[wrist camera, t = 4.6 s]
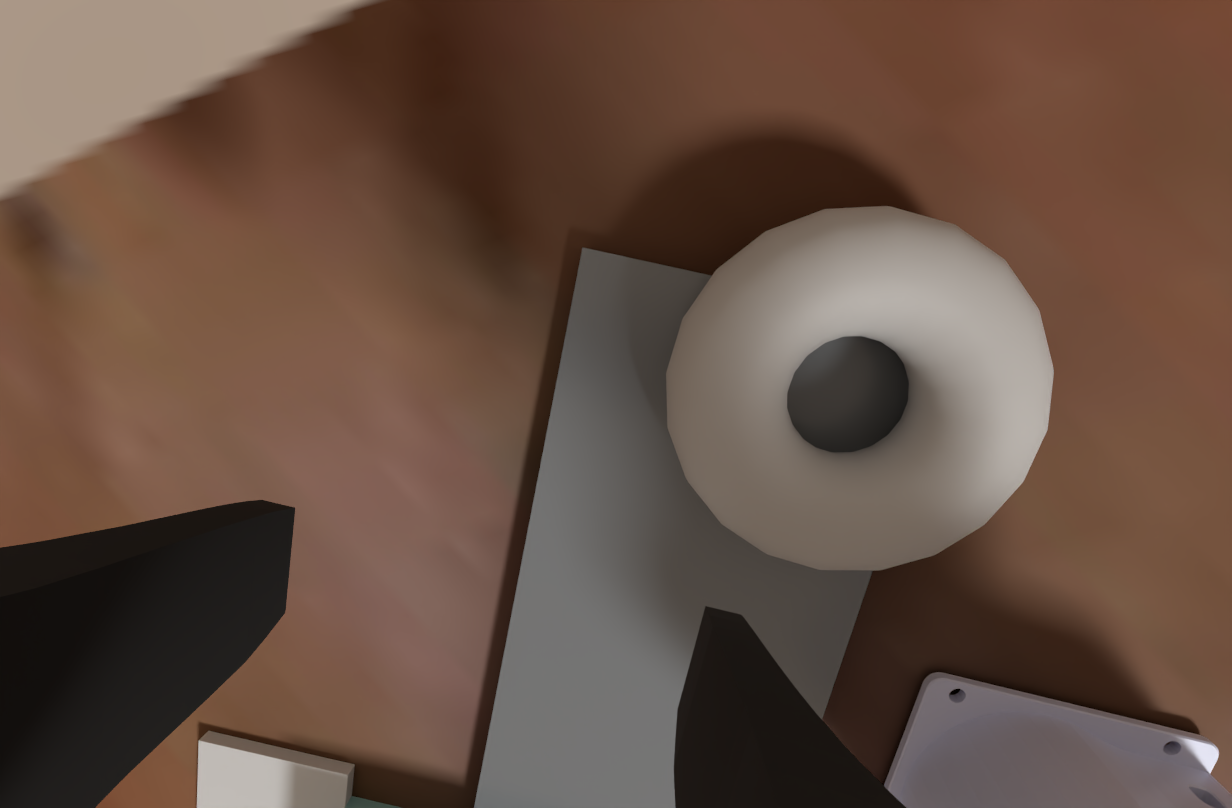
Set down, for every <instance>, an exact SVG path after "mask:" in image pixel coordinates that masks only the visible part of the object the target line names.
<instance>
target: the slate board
mask: <svg viewBox="0 0 1232 808" xmlns="http://www.w3.org/2000/svg"><path fill="white" fill-rule="evenodd" d="M711 277H712V275H707V274H703V273H698V272H694V271H689V270H685V269H680V268H675V267H671V266H666V265H662V264H657V263H653V262H648V261H643V260H639V259H634V258H630V257H625V256H621V255H616V254H612V253H607V252H602V251H598V250H593V249H589V248H583V247H582V253H581V258H580V263H579V268H578V273H577V278H576V284H575V289H574V294H573V299H572V304H571V309H570V315H569V320H568V325H567V330H566V335H565V340H564V346H563V351H562V356H561V361H560V366H559V371H558V377H557V382H556V387H555V392H554V397H553V402H552V408H551V413H550V418H549V423H548V428H547V433H546V438H545V444H544V449H543V454H542V459H541V464H540V469H539V475H538V480H537V485H536V490H535V495H534V500H533V506H532V511H531V516H530V521H529V526H528V531H527V537H526V542H525V547H524V552H523V557H522V562H521V568H520V573H519V578H518V583H517V588H516V593H515V599H514V604H513V609H512V614H511V619H510V624H509V630H508V635H507V640H506V645H505V650H504V655H503V661H502V666H501V671H500V676H499V681H498V686H497V691H496V697H495V702H494V707H493V712H492V717H491V722H490V728H489V733H488V738H487V743H486V748H485V753H484V759H483V764H482V769H481V774H480V779H479V784H478V790H477V795H476V800H475V805H474V808H675V789H674V753H675V737H676V723H677V710H678V706H679V702H680V698H681V695H682V691H683V687H684V683H685V680H686V676H687V672H688V669H689V665H690V661H691V658H692V654H693V650H694V647H695V643H696V639H697V635H698V632H699V628H700V624H701V621H702V617H703V613H704V610H705V606H708V607H712V608H716V609H720V610H724V611H728V612H733V613H737V614H741V615H742V616H743V617H744V618H745V620H746V621H747V622H748V624H749V625H750V626H751V628H752V629H753V630H754V632H755V633H756V635H757V636H758V637H759V639H760V640H761V642H762V643H763V644H764V646H765V647H766V649H767V650H768V651H769V653H770V654H771V655H772V657H773V658H774V660H775V661H776V662H777V664H778V665H779V666H780V668H781V669H782V670H783V672H784V673H785V674H786V676H787V677H788V678H789V680H790V681H791V682H792V684H793V685H794V686H795V688H796V689H797V690H798V691H799V693H800V694H801V695H802V696H803V698H804V699H805V700H806V701H807V703H808V704H809V705H810V706H811V708H812V709H813V710H814V711H815V712H816V714H817V715H818V716H819V717H820V718H821V719H822V718H823V715H824V712H825V710H826V707H827V704H828V701H829V698H830V695H831V692H832V689H833V686H834V683H835V680H836V677H837V674H838V671H839V668H840V665H841V662H842V660H843V657H844V654H845V651H846V648H847V645H848V642H849V639H850V636H851V633H852V630H853V627H854V624H855V621H856V618H857V615H858V612H859V609H860V607H861V604H862V601H863V598H864V595H865V592H866V589H867V586H868V583H869V580H870V577H871V574H872V571H873V570H818V569H814V568H811V567H808V566H804V565H801V564H798V563H794V562H791V561H788V560H784V559H781V558H778V557H774V556H771V555H767V554H765V553H764V552H762V551H761V550H759V549H758V548H756V547H755V546H753V545H752V544H750V543H749V542H747V541H746V540H744V539H743V538H741V537H740V536H738V535H737V534H735V533H734V532H732V531H731V530H729V529H728V528H726V527H725V526H723V525H722V524H721V523H720V522H719V520H718V519H717V518H716V517H715V515H714V514H713V513H712V512H711V510H710V509H709V508H708V506H707V505H706V504H705V503H704V501H703V500H702V499H701V498H700V496H699V495H698V494H697V493H696V491H695V490H694V489H693V488H692V486H691V485H690V484H689V483H688V481H687V479H686V477H685V475H684V472H683V469H682V466H681V464H680V461H679V458H678V455H677V453H676V450H675V447H674V444H673V442H672V439H671V436H670V433H669V431H668V428H667V390H666V372H667V368H668V365H669V362H670V358H671V355H672V352H673V348H674V345H675V342H676V339H677V335H678V332H679V329H680V325H681V322H682V319H683V317H684V316H685V314H686V313H687V311H688V310H689V308H690V307H691V306H692V304H693V303H694V301H695V300H696V298H697V297H698V295H699V294H700V293H701V291H702V290H703V288H704V287H705V285H706V284H707V282H708V281H709V280H710V278H711ZM908 390H909V380H908V377H907V373H906V370H905V366H904V363H903V362H902V360H901V359H900V358H899V356H898V355H897V354H896V352H895V351H893V350H892V349H891V348H889V347H888V346H886V345H885V344H883V343H882V342H880V341H877V340H874V339H870V338H867V337H863V336H845V337H841V338H838V339H835V340H832V341H829V342H826V343H824V344H823V345H821V346H820V347H819V348H817V349H816V350H814V351H813V352H812V353H810V354H809V355H807V357H806V358H805V359H804V361H803V362H802V363H801V364H800V366H799V367H798V368H797V370H796V371H795V372H794V375H793V378H792V381H791V383H790V386H789V389H788V392H787V409H788V412H789V415H790V418H791V421H792V424H793V426H794V427H795V429H796V430H797V431H798V433H799V434H800V435H801V436H802V438H803V439H804V440H805V441H807V442H808V443H810V444H811V445H813V446H814V447H816V448H819V449H822V450H826V451H829V452H854V451H857V450H860V449H864V448H867V447H870V446H872V445H874V444H875V443H877V442H878V441H880V440H881V439H883V438H884V437H885V436H887V435H888V434H889V433H890V432H891V430H892V429H893V428H894V427H895V426H896V424H897V423H898V422H899V421H900V419H901V417H902V415H903V412H904V410H905V407H906V405H907V402H908Z"/></svg>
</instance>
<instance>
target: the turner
mask: <svg viewBox="0 0 1232 808" xmlns="http://www.w3.org/2000/svg"><path fill="white" fill-rule="evenodd" d="M354 767H355V764H351V763H346V762H342V761H338V760H333V759H329V758H325V757H320V756H316V755H312V754H307V753H303V752H299V751H294V750H290V749H286V748H281V747H277V746H273V745H268V744H264V743H260V742H255V741H251V740H247V739H242V738H238V737H234V736H229V735H225V734H221V733H216V732H212V731H208V732H207V733H206V734H205V735H204V736H203V737H202V738H201V739H200V740H199V746H198V784H197V808H401V807H397V806H393V805H389V804H384V803H380V802H376V801H372V800H367V799H363V798H359V797H354V796H352V788H353V778H354Z"/></svg>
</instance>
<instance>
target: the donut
mask: <svg viewBox="0 0 1232 808" xmlns="http://www.w3.org/2000/svg"><path fill="white" fill-rule="evenodd" d="M845 336H863V337H867V338H870V339H874V340H877V341H880V342H882V343H883V344H885V345H886V346H888V347H889V348H891V349H892V350H893V351H895V352H896V354H897V355H898V356H899V358H900V359H901V360H902V362H903V363H904V366H905V370H906V373H907V377H908V380H909V390H908V402H907V405H906V407H905V410H904V412H903V415H902V417H901V419H900V421H899V422H898V423H897V424H896V426H895V427H894V428H893V429H892V430H891V432H890V433H889V434H888V435H887V436H885V437H884V438H883V439H881V440H880V441H878V442H877V443H875V444H874V445H872V446H870V447H867V448H864V449H860V450H857V451H854V452H829V451H826V450H822V449H819V448H816V447H814V446H813V445H811V444H810V443H808V442H807V441H805V440H804V439H803V438H802V436H801V435H800V434H799V433H798V431H797V430H796V429H795V427H794V426H793V424H792V421H791V418H790V415H789V412H788V409H787V392H788V389H789V386H790V383H791V381H792V378H793V375H794V372H795V371H796V370H797V368H798V367H799V366H800V364H801V363H802V362H803V361H804V359H805V358H806V357H807V355H809V354H810V353H812V352H813V351H814V350H816V349H817V348H819V347H820V346H821V345H823V344H824V343H826V342H829V341H832V340H835V339H838V338H841V337H845ZM1053 375H1054V370H1053V364H1052V360H1051V356H1050V352H1049V348H1048V344H1047V340H1046V336H1045V332H1044V328H1043V324H1042V319H1041V315H1040V311H1039V309H1038V307H1037V306H1036V304H1035V303H1034V301H1033V300H1032V299H1031V297H1030V296H1029V294H1028V293H1027V291H1026V290H1025V288H1024V287H1023V285H1022V284H1021V282H1020V281H1019V279H1018V278H1017V277H1016V275H1015V274H1014V272H1013V271H1012V269H1011V268H1010V266H1009V265H1008V263H1007V262H1006V260H1004V259H1003V258H1002V257H1000V256H999V255H997V254H996V253H995V252H993V251H992V250H990V249H989V248H988V247H986V246H985V245H983V244H982V243H980V242H979V241H978V240H976V239H975V238H973V237H972V236H971V235H969V234H968V233H966V232H965V231H963V230H962V229H961V228H959V227H958V226H956V225H955V224H951V223H948V222H944V221H941V220H937V219H934V218H930V217H926V216H923V215H919V214H916V213H912V212H909V211H905V210H902V209H898V208H894V207H891V206H874V207H854V208H834V209H823V210H821V211H818V212H815V213H813V214H810V215H807V216H805V217H802V218H799V219H797V220H794V221H791V222H789V223H786V224H783V225H781V226H778V227H775V228H773V229H770V230H767V231H765V232H764V233H762V234H761V235H760V236H759V237H757V238H756V239H755V240H754V241H752V242H751V243H750V244H748V245H747V246H746V247H745V248H743V249H742V250H741V251H739V252H738V253H737V254H736V255H734V256H733V257H732V258H730V259H729V260H728V261H727V262H725V263H724V264H723V265H721V266H720V267H719V268H718V269H716V271H715V272H714V274H713V275H712V277H711V278H710V280H709V281H708V282H707V284H706V285H705V287H704V288H703V290H702V291H701V293H700V294H699V295H698V297H697V298H696V300H695V301H694V303H693V304H692V306H691V307H690V308H689V310H688V311H687V313H686V314H685V316H684V317H683V319H682V322H681V325H680V329H679V332H678V335H677V339H676V342H675V345H674V348H673V352H672V355H671V358H670V362H669V365H668V368H667V372H666V390H667V428H668V431H669V433H670V436H671V439H672V442H673V444H674V447H675V450H676V453H677V455H678V458H679V461H680V464H681V466H682V469H683V472H684V475H685V477H686V479H687V481H688V483H689V484H690V485H691V486H692V488H693V489H694V490H695V491H696V493H697V494H698V495H699V496H700V498H701V499H702V500H703V501H704V503H705V504H706V505H707V506H708V508H709V509H710V510H711V512H712V513H713V514H714V515H715V517H716V518H717V519H718V520H719V522H720V523H721V524H722V525H723V526H725V527H726V528H728V529H729V530H731V531H732V532H734V533H735V534H737V535H738V536H740V537H741V538H743V539H744V540H746V541H747V542H749V543H750V544H752V545H753V546H755V547H756V548H758V549H759V550H761V551H762V552H764V553H765V554H767V555H771V556H774V557H778V558H781V559H784V560H788V561H791V562H794V563H798V564H801V565H804V566H808V567H811V568H814V569H818V570H883V569H887V568H891V567H894V566H898V565H901V564H905V563H909V562H912V561H916V560H919V559H923V558H927V557H930V556H934V555H936V554H938V553H939V552H941V551H943V550H944V549H946V548H947V547H949V546H951V545H952V544H954V543H956V542H957V541H959V540H961V539H962V538H964V537H965V536H967V535H969V534H970V533H972V532H974V531H975V530H977V529H979V528H980V527H982V526H983V525H985V524H986V522H987V521H988V520H989V519H990V518H991V517H992V516H993V515H994V514H995V513H996V511H997V510H998V509H999V508H1000V507H1001V506H1002V505H1003V504H1004V503H1005V502H1006V500H1007V499H1008V498H1009V497H1010V496H1011V495H1012V494H1013V493H1014V492H1015V490H1016V489H1017V488H1018V487H1019V486H1020V485H1021V484H1022V483H1023V481H1024V479H1025V477H1026V475H1027V473H1028V471H1029V468H1030V466H1031V464H1032V462H1033V460H1034V458H1035V455H1036V453H1037V451H1038V449H1039V447H1040V445H1041V442H1042V440H1043V438H1044V436H1045V434H1046V432H1047V430H1048V421H1049V412H1050V402H1051V393H1052V384H1053Z"/></svg>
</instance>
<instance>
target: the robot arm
mask: <svg viewBox="0 0 1232 808" xmlns="http://www.w3.org/2000/svg"><path fill="white" fill-rule="evenodd" d="M294 514H295V508H293V507H289V506H285V505H281V504H277V503H272V502H268V501H264V500H256V501H246V502H239V503H233V504H227V505H222V506H216V507H211V508H206V509H202V510H197V511H192V512H187V513H183V514H178V515H173V516H168V517H164V518H159V519H154V520H150V521H145V522H140V523H136V524H131V525H126V526H121V527H116V528H111V529H105V530H100V531H95V532H89V533H84V534H79V535H73V536H68V537H63V538H57V539H52V540H47V541H41V542H35V543H29V544H23V545H16V546H9V547H2V548H0V808H95V807H96V806H97V805H98V804H99V803H100V802H101V801H102V800H103V799H104V798H105V797H106V796H107V795H108V794H109V793H110V792H111V791H112V790H113V788H114V787H115V786H116V785H117V784H118V783H119V782H120V781H121V780H122V779H123V778H124V777H125V776H126V775H127V774H128V773H129V772H130V771H131V770H132V769H134V768H135V767H136V766H137V765H138V764H139V763H140V762H141V761H142V760H143V759H144V758H145V757H146V756H147V755H148V754H149V753H150V752H152V751H153V750H154V749H155V748H156V747H157V746H158V745H159V744H160V743H161V742H162V741H163V740H164V739H165V738H166V737H167V736H168V735H169V734H171V733H172V732H173V731H174V730H175V729H176V728H177V727H178V726H179V725H180V724H181V723H182V722H183V721H184V720H185V719H186V718H187V717H189V716H190V715H191V714H192V713H193V712H194V711H195V710H196V709H197V708H198V707H199V706H200V705H201V704H202V703H203V702H204V701H205V700H207V699H208V698H209V697H210V696H211V695H212V694H213V693H214V692H215V691H216V690H217V689H218V688H219V687H220V686H221V685H222V684H223V683H224V682H225V681H226V680H227V679H228V678H229V677H230V676H231V675H232V674H233V673H235V672H236V671H237V670H238V669H239V668H240V667H241V666H242V665H243V664H244V663H245V662H246V661H247V659H248V658H249V657H250V656H251V655H252V653H253V652H254V651H255V650H256V649H257V647H258V646H259V645H260V644H261V643H262V641H263V640H264V639H265V638H266V637H267V635H268V634H269V633H270V631H271V630H272V629H273V628H274V626H275V625H276V624H277V622H278V621H279V620H280V619H281V617H282V616H283V615H284V613H285V610H286V599H287V588H288V578H289V567H290V557H291V546H292V536H293V525H294ZM954 689H960V691H959V692H958V693H957V694H954V695H949V693H950V692H951V691H952V690H954ZM1170 741H1171V742H1170ZM1168 742H1170V743H1169V744H1168V745H1166V746H1164V745H1165V744H1166V743H1168ZM1218 756H1219V751H1218V748H1217V747H1216V746H1215V745H1214V744H1213V743H1212V742H1211V741H1210V740H1209V739H1208V738H1206V737H1204V736H1202V735H1198V734H1194V733H1190V732H1186V731H1182V730H1178V729H1173V728H1169V727H1165V726H1161V725H1157V724H1153V723H1149V722H1145V721H1141V720H1136V719H1132V718H1128V717H1124V716H1120V715H1116V714H1112V713H1108V712H1103V711H1099V710H1095V709H1091V708H1087V707H1083V706H1079V705H1075V704H1070V703H1066V702H1062V701H1058V700H1054V699H1050V698H1046V697H1042V696H1037V695H1033V694H1029V693H1025V692H1021V691H1017V690H1013V689H1009V688H1005V687H1000V686H996V685H992V684H988V683H984V682H980V681H976V680H972V679H967V678H963V677H959V676H955V675H951V674H947V673H942V672H935V673H932V674H930V675H928V676H927V677H926V678H925V680H924V681H923V683H922V686H921V689H920V691H919V694H918V697H917V699H916V702H915V704H914V707H913V710H912V712H911V715H910V718H909V720H908V723H907V726H906V728H905V731H904V734H903V736H902V739H901V741H900V744H899V747H898V749H897V752H896V755H895V757H894V760H893V763H892V765H891V768H890V771H889V773H888V776H887V779H886V781H885V784H884V786H883V785H882V784H881V783H880V782H879V781H878V780H877V779H876V778H875V777H874V776H873V775H872V774H871V773H870V772H869V771H868V770H867V769H866V768H865V767H864V766H863V765H862V764H861V763H860V762H859V761H858V760H857V759H856V758H855V756H854V755H853V754H852V753H851V752H850V751H849V750H848V749H847V748H846V747H845V746H844V745H843V744H842V742H841V741H840V740H839V739H838V738H837V737H836V736H835V734H834V733H833V732H832V731H831V730H830V729H829V727H828V726H827V725H826V724H825V723H824V722H823V721H822V719H821V718H820V717H819V716H818V715H817V714H816V712H815V711H814V710H813V709H812V708H811V706H810V705H809V704H808V703H807V701H806V700H805V699H804V698H803V696H802V695H801V694H800V693H799V691H798V690H797V689H796V688H795V686H794V685H793V684H792V682H791V681H790V680H789V678H788V677H787V676H786V674H785V673H784V672H783V670H782V669H781V668H780V666H779V665H778V664H777V662H776V661H775V660H774V658H773V657H772V655H771V654H770V653H769V651H768V650H767V649H766V647H765V646H764V644H763V643H762V642H761V640H760V639H759V637H758V636H757V635H756V633H755V632H754V630H753V629H752V628H751V626H750V625H749V624H748V622H747V621H746V620H745V618H744V617H743V616H742V615H741V614H737V613H733V612H728V611H724V610H720V609H716V608H712V607H708V606H705V610H704V613H703V617H702V621H701V624H700V628H699V632H698V635H697V639H696V643H695V647H694V650H693V654H692V658H691V661H690V665H689V669H688V672H687V676H686V680H685V683H684V687H683V691H682V695H681V698H680V702H679V706H678V710H677V723H676V737H675V753H674V789H675V808H1232V795H1231V794H1230V793H1229V792H1228V791H1227V790H1226V789H1225V788H1224V787H1223V786H1222V785H1221V784H1220V783H1219V782H1218V781H1217V780H1216V779H1215V778H1214V777H1213V776H1212V775H1211V774H1210V773H1211V771H1212V769H1213V767H1214V765H1215V763H1216V761H1217V759H1218Z"/></svg>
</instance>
